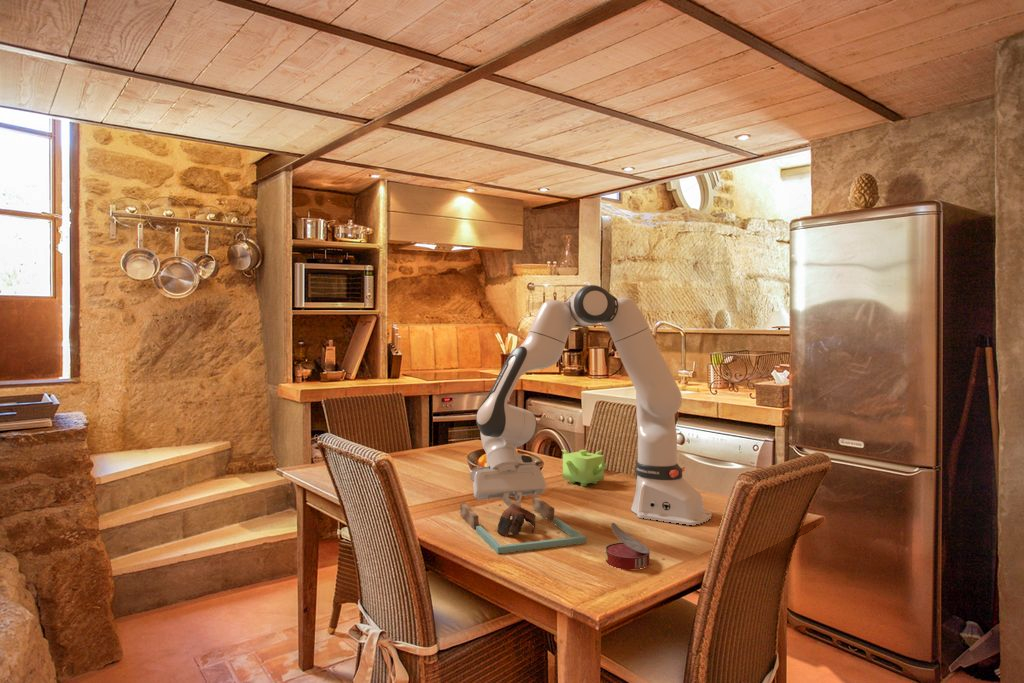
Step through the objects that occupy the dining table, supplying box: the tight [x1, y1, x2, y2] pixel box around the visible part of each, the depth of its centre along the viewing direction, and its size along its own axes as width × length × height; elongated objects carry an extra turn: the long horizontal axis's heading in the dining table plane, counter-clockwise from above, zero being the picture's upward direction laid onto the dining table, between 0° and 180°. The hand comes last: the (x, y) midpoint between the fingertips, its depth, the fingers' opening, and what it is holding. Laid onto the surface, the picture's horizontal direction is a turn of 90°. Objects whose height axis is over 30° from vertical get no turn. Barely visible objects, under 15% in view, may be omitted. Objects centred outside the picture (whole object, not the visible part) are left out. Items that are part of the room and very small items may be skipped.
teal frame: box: [475, 517, 587, 555], centre depth 166 cm, size 17×23×2 cm
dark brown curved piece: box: [496, 504, 537, 538], centre depth 169 cm, size 12×10×8 cm
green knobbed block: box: [561, 449, 608, 488], centre depth 223 cm, size 15×14×11 cm
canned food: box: [605, 522, 651, 570], centre depth 150 cm, size 11×10×10 cm
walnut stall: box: [459, 496, 555, 530], centre depth 182 cm, size 13×23×4 cm, turn 110°
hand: (515, 509), depth 176 cm, fingers closed
